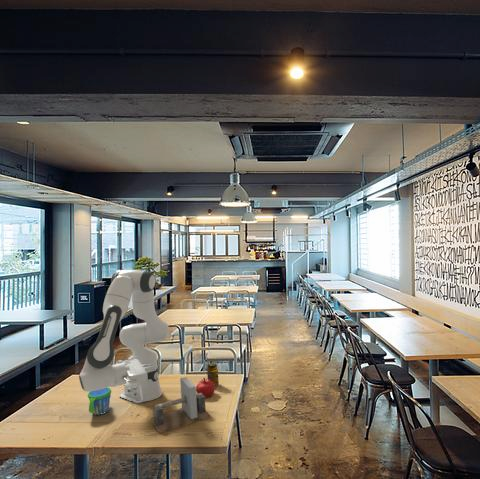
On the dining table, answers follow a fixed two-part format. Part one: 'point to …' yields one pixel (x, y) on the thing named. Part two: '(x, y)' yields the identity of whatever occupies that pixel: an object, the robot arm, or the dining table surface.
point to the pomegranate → (205, 387)
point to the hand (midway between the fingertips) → (153, 366)
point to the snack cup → (99, 400)
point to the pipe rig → (177, 414)
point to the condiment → (213, 374)
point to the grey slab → (189, 397)
